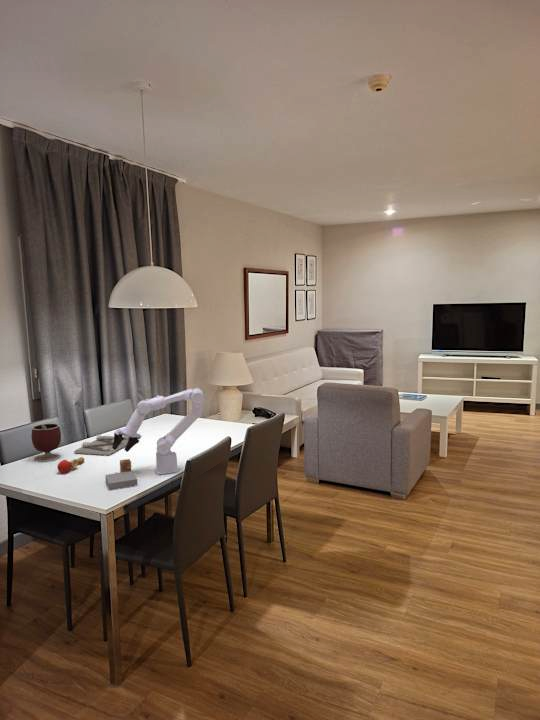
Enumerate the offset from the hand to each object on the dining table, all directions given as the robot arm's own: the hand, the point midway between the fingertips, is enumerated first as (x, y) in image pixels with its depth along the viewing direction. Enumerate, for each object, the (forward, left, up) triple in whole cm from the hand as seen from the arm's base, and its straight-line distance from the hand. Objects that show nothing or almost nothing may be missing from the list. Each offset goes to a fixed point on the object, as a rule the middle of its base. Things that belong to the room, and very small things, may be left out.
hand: (120, 449), depth 234 cm
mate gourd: (+31, -42, -12) cm, 53 cm away
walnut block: (-2, -2, -12) cm, 12 cm away
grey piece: (+1, -50, -13) cm, 52 cm away
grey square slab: (+2, +11, -12) cm, 17 cm away
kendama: (+20, -21, -13) cm, 32 cm away
